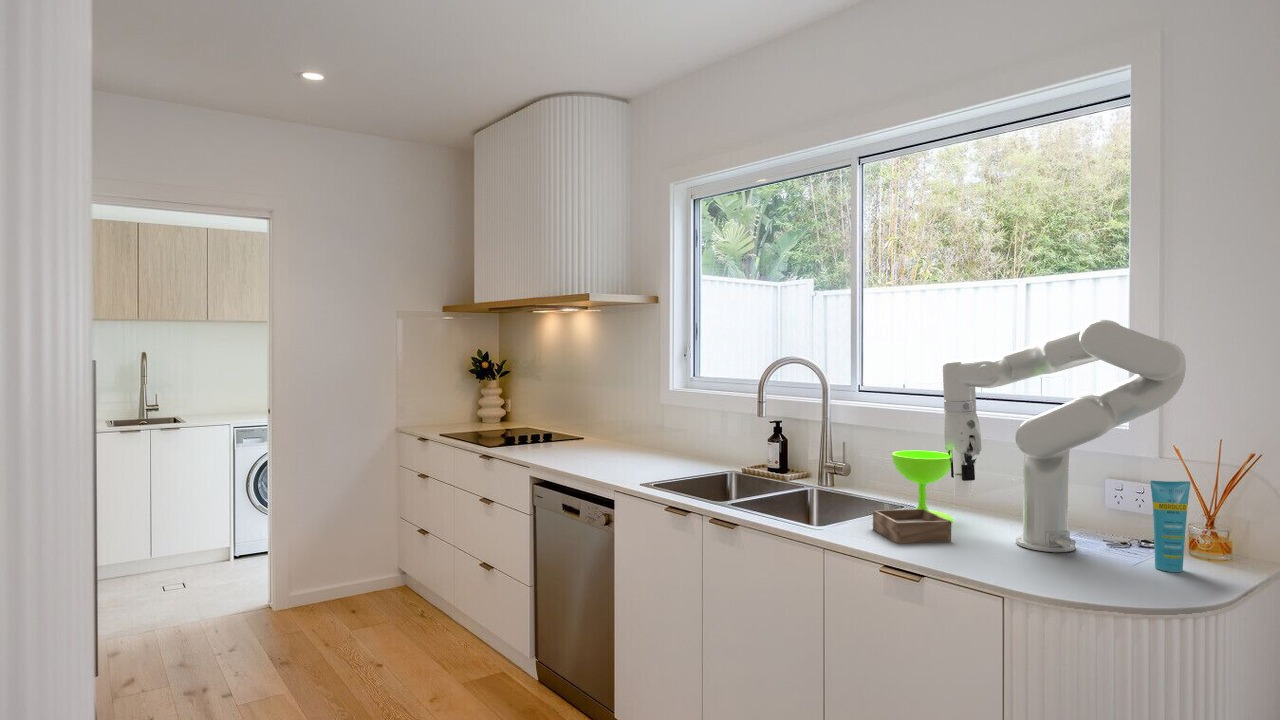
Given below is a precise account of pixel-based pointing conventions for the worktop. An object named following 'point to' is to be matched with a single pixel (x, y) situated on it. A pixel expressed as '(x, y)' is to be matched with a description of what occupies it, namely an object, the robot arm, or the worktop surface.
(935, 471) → the wineglass
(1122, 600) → the worktop surface
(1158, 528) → the tube
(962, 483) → the tube
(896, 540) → the open wooden box
